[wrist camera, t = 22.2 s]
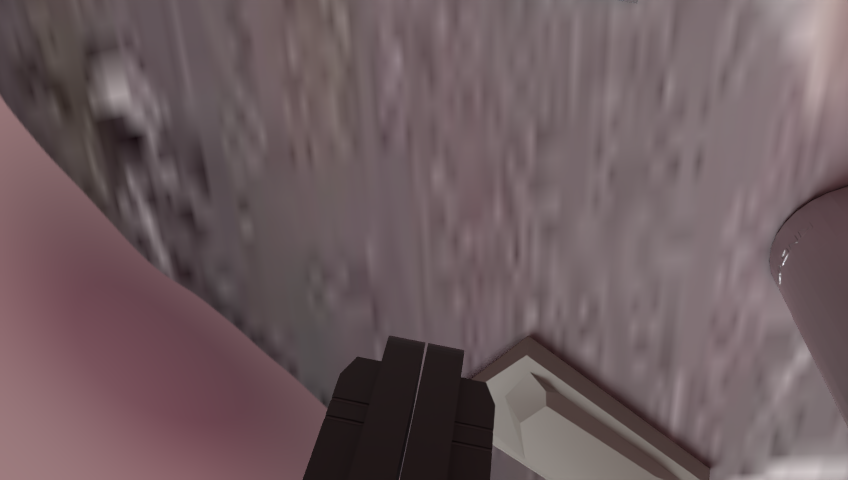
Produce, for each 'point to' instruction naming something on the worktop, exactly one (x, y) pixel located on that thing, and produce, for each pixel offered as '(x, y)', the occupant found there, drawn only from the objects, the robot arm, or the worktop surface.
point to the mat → (633, 0)
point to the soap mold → (575, 424)
